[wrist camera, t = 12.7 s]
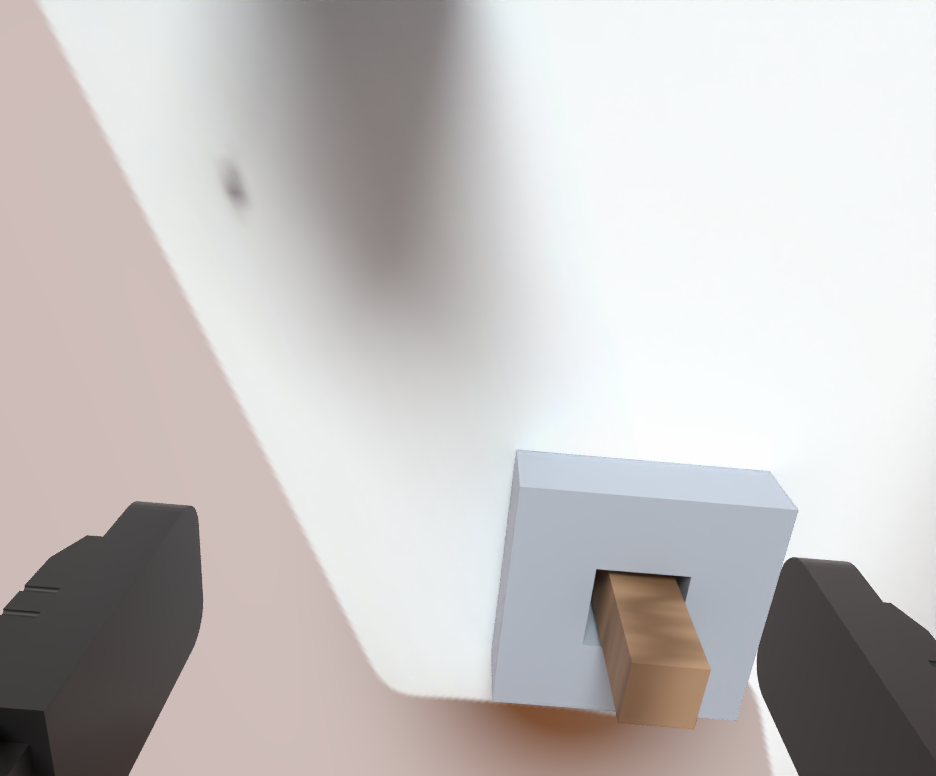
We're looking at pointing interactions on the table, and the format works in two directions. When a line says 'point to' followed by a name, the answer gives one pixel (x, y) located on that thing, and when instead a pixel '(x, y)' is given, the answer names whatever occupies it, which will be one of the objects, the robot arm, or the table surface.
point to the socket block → (632, 569)
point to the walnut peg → (649, 649)
